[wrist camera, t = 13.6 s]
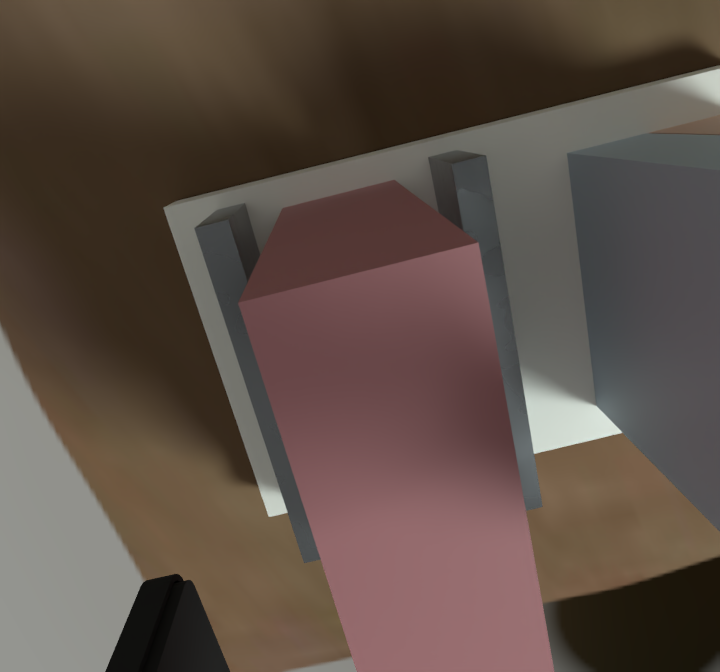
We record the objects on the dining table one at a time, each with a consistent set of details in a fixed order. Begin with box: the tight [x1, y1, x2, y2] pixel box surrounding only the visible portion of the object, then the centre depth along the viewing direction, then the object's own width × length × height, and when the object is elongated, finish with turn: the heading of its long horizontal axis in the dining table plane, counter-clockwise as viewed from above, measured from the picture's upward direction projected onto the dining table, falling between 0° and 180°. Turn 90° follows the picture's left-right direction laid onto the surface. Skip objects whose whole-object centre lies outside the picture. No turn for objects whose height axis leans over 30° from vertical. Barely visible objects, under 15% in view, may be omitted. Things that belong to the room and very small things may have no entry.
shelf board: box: [163, 65, 720, 517], centre depth 24 cm, size 21×13×2 cm, turn 103°
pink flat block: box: [238, 180, 554, 672], centre depth 17 cm, size 4×11×12 cm, turn 14°
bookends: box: [194, 150, 542, 563], centre depth 21 cm, size 8×12×4 cm
